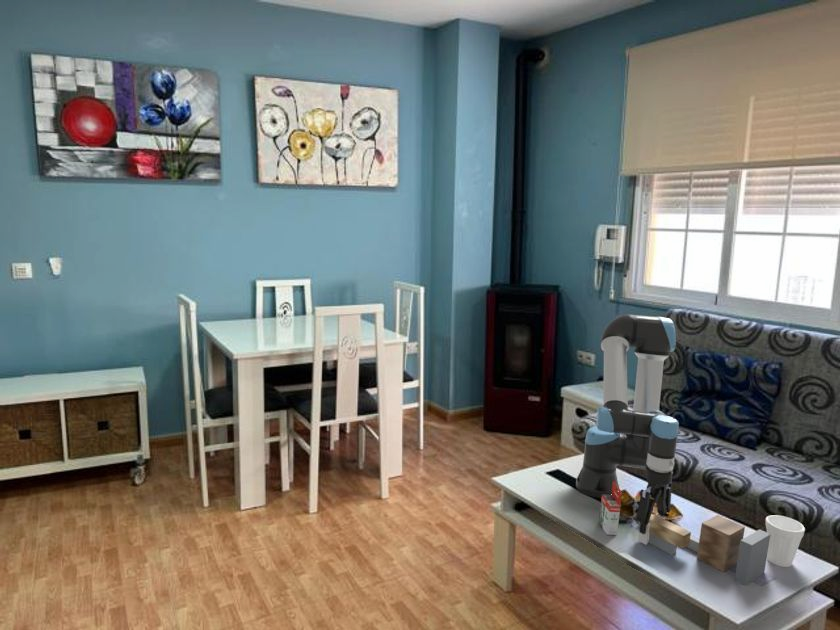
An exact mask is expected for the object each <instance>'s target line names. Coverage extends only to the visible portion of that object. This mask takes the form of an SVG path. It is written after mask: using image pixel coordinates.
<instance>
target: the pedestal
mask: <svg viewBox="0 0 840 630" xmlns="http://www.w3.org/2000/svg"><path fill="white" fill-rule="evenodd" d="M648 543H649V544H650V545H652V546H654V547H656V548H658V549H660V550H662V551H664V552H666V553H668V554H670V555H671V556H674V555H675V554H676V553H677V551H678V549H677V548H678V547H677V546H675V545H673V544H671V543H669V542H667V541H665V540H663V539H661V538H659V537H657V536H655V535H653V534H651V533H649V536H648Z"/></svg>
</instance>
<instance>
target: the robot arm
mask: <svg viewBox="0 0 840 630" xmlns="http://www.w3.org/2000/svg"><path fill="white" fill-rule="evenodd" d="M676 344H677V336H676V327H675V324H674V321H673V320H672V319H671V318H668V317H663V316H653V315H651V316H649V315H640V314H631V313H627V314H621V315H619V316H617V317H615V318H614V319H612V320H611V321H610V322H609V323H608V324H607V325H606V326H605V328H604V329H603V331H602V334H601V338H600V348H601V350H602V351H603V392H602V393H603V405H602V406H600V407H598V408H597V412H596V422H595V425H594V426H592V427H590V428H588V430H587V431H586V435H585V439H584V443H585V444H584V445H585V446H584V452H583V461H582V466H581V470H580V471H579V473H578V476H577V477H576V479H575V480H576V481H575V487H576V489H577V490H578V491H579V492H581V493H582V494H584V495H586V496H590V497H593V498H597V499H601V498H602V495H611V494H612V486H613V481H614V482H615V484H616V485H617V486H618V488H619V489H620V485H619V480H618V476H617V467H618V466H620V467H629V468H635V469H641V470H645V472H644V478H645V479H646V480H647V485H646V489H640V490H639V491H640V492H639V496H640V497H639V503H638V506H637V513H636V516H635V521H636V522H638V523H640V528H639V531H638V539H637V540H638V542H640V543H642V544H644V545H648V539H649V529H650V524H649V520H650V517H651V514H653V510H654V507H655V504H656V509H657V513H655V514H654V515H656V516H658V517H660V518H662V519H664V520H666V518H669V517H670V514H669V513H671V507H672V506H671V505H672V504H671V503H672V489H673V486H674V483H673V482H672V481H673V480H672V479H673V474H674V472H673V471H674V470H673V469H674V466H675V456H676V451H677V450H676V449H677V442H678V437H679V436H678V435H679V434H680V433H679V432H680V431H679V425H680V423H679V420H677V419H676V418H674V417H672V416H669V415H666V414H665V413H664V412H662V411H661V410H660V402H661V395H662V393H661V392H662V385H663V383H662V382H663V373H664V364H665V363H664V362H665V360H666V359H667V358H669V357H670V352H671V353H672V352H674V351H675V349H676ZM630 348H634V352H633V353H634V354H635V356H636V357H637V367H636V376H635V388H634V397H633V398H634V399H633V407H632V410H630V409H629V405H628V404H629V401H628V400H629V398H628V397H629V395H628V393H629V392H628V359H627V358H628V357H627V353H628V350H629V349H630ZM616 489H617V488H616ZM617 491H618V489H617Z"/></svg>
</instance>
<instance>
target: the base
mask: <svg viewBox="0 0 840 630" xmlns="http://www.w3.org/2000/svg"><path fill="white" fill-rule="evenodd" d="M770 535H771V534H769V533H767V531H764V530H762V529H757V530H756V531H754V532H752V533H751V534H749V535H747V536H746V537H743V539H742V540H741V542H740V548H739V555H738V561H737V564H736V568H735V575H734V581H735V582H738V583H740V584H742V585H744V586H747V585H748V584H750V583H752V582H753V581H754V580H756V579H757V578H758V577H760V576H762V575H764V574H765V571H766V563H767V553H768V547H769V541H770ZM699 539H700V538H697V537H694V536H693V535H690V542H689V545H688V546H686V547H685V548H688V549H690V550H691V551H694V552H696V553H698V546H699Z"/></svg>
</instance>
